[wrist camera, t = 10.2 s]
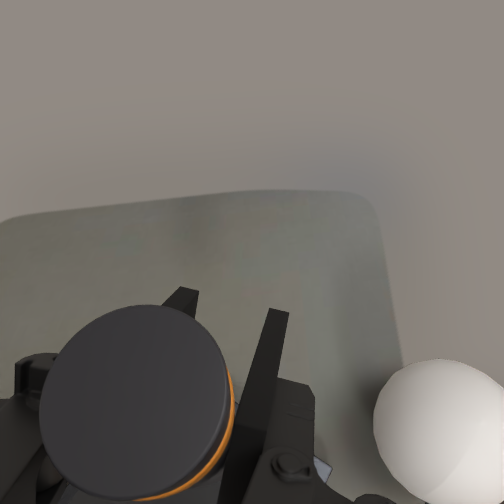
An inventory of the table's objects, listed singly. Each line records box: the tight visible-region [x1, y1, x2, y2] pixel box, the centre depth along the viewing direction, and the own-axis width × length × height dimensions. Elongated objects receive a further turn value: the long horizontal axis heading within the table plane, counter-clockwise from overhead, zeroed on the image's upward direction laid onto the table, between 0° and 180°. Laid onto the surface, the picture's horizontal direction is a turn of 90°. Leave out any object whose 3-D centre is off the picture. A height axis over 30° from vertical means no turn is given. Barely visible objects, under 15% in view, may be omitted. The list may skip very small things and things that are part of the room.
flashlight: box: [39, 305, 235, 501], centre depth 11 cm, size 3×3×12 cm
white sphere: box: [373, 358, 504, 504], centre depth 21 cm, size 10×7×7 cm
